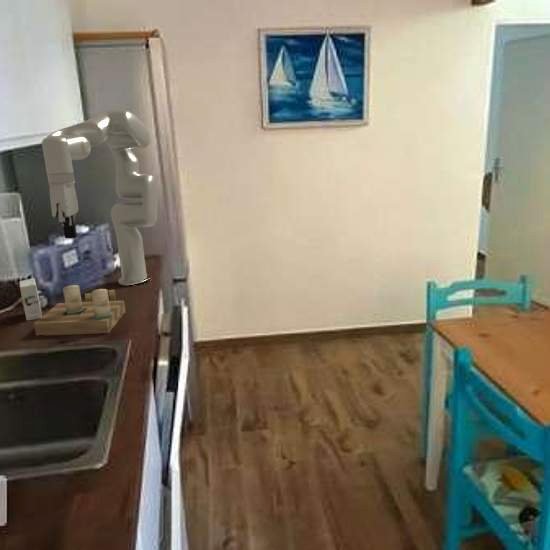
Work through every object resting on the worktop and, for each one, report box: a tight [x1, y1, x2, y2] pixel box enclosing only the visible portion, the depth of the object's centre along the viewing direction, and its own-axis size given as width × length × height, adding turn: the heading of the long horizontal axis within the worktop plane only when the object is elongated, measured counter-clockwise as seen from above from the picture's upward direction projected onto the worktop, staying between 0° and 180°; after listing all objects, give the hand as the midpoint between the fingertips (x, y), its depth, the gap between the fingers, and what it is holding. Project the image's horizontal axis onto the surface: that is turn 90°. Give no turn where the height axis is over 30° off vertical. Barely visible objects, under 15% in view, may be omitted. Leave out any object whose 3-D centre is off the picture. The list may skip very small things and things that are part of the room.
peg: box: [62, 284, 83, 315], centre depth 163 cm, size 5×5×12 cm
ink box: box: [19, 278, 43, 321], centre depth 172 cm, size 8×5×12 cm, turn 27°
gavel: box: [84, 284, 117, 302], centre depth 190 cm, size 21×5×10 cm
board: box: [33, 288, 126, 337], centre depth 163 cm, size 18×22×12 cm
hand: (71, 237), depth 162 cm, fingers closed
